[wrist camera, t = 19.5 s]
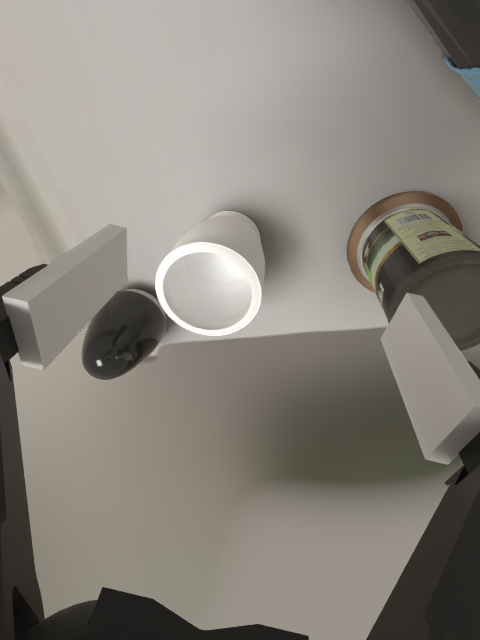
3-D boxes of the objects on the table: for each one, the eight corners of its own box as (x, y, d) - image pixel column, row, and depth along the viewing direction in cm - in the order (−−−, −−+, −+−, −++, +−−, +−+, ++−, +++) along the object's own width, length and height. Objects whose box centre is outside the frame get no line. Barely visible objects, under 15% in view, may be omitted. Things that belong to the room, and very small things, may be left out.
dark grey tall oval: (186, 323, 52) (153, 392, 39) (135, 340, 55) (90, 408, 43) (152, 269, 47) (103, 327, 35) (99, 291, 51) (36, 351, 38)
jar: (262, 194, 40) (250, 233, 27) (274, 270, 45) (268, 332, 33) (182, 209, 42) (137, 251, 29) (202, 280, 47) (172, 341, 35)
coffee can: (383, 299, 43) (417, 370, 32) (344, 241, 40) (367, 297, 28) (464, 257, 39) (538, 322, 27) (429, 186, 35) (498, 227, 24)
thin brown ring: (412, 166, 36) (417, 168, 35) (479, 239, 39) (486, 244, 38) (325, 249, 42) (327, 254, 41) (390, 306, 46) (393, 312, 44)
